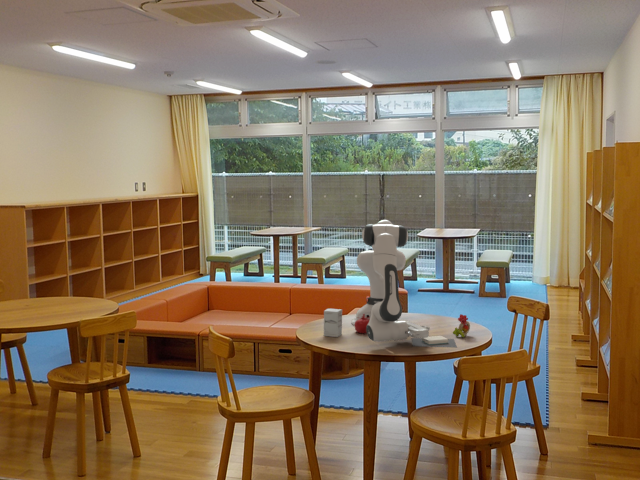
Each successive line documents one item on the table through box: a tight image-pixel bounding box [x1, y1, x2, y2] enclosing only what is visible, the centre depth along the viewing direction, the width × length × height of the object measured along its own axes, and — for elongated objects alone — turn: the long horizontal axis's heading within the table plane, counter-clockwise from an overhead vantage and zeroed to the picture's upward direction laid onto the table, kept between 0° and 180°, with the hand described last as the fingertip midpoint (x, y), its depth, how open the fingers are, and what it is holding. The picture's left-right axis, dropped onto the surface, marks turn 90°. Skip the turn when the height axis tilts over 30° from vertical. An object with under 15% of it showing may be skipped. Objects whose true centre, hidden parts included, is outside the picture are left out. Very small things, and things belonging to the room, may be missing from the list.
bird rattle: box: [452, 314, 471, 338], centre depth 322 cm, size 6×11×9 cm
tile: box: [422, 335, 449, 345], centre depth 308 cm, size 2×7×10 cm
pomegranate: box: [354, 314, 370, 335], centre depth 330 cm, size 10×10×9 cm
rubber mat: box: [410, 337, 458, 348], centre depth 307 cm, size 20×16×1 cm
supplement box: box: [323, 308, 343, 338], centre depth 323 cm, size 7×7×13 cm
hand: (428, 328), depth 306 cm, fingers closed
